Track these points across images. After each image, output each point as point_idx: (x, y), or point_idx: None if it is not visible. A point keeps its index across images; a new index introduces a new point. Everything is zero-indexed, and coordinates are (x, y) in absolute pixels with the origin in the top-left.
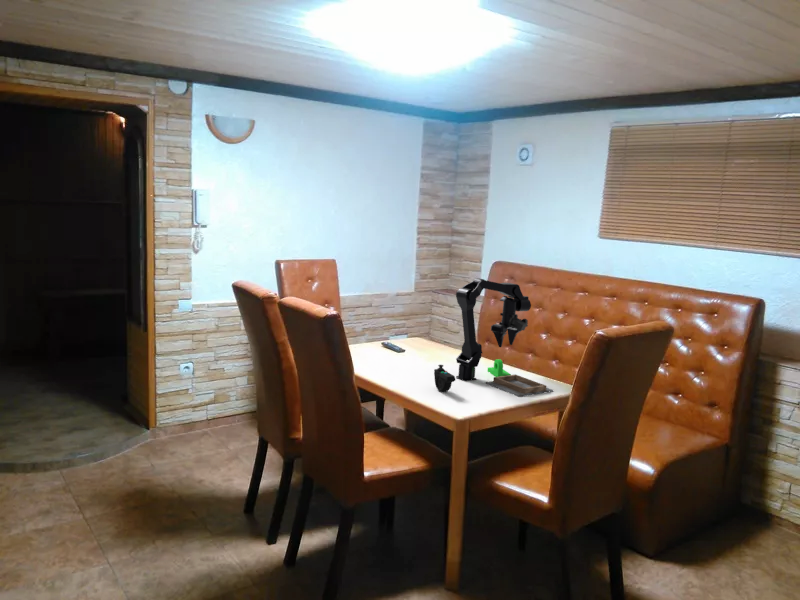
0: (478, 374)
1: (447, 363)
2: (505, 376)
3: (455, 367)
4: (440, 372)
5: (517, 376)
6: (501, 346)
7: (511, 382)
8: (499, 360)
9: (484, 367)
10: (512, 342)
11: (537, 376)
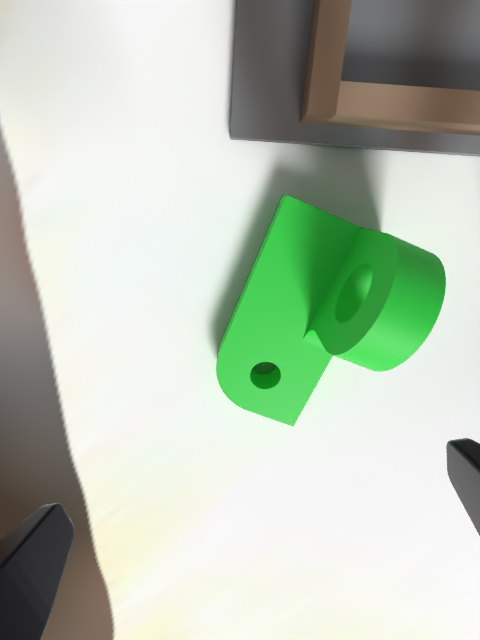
0: (414, 377)
1: (370, 594)
2: (470, 96)
3: (401, 533)
4: None
5: (345, 41)
6: (465, 445)
7: (434, 35)
8: (417, 302)
9: (235, 475)
10: (16, 546)
11: (6, 130)
